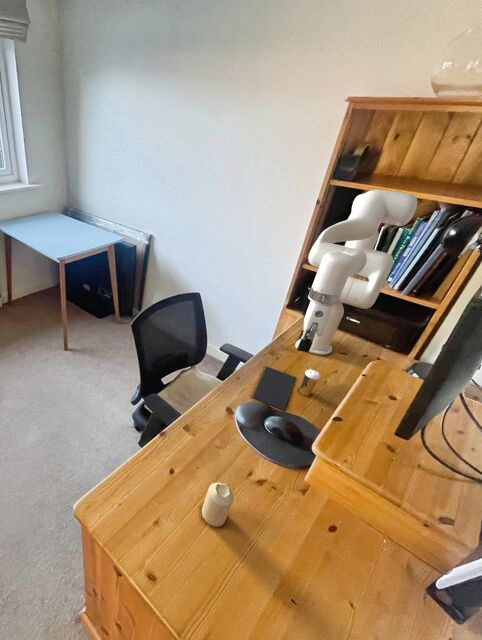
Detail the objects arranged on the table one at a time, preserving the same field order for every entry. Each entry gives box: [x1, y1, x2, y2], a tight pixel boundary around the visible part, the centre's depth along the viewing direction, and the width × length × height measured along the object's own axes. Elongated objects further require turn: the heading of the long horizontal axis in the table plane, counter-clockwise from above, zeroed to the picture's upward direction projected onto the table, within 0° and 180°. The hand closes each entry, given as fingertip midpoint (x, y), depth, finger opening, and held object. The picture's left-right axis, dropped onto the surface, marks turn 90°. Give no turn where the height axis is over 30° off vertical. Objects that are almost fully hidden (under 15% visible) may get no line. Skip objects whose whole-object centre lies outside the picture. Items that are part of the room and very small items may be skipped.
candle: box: [201, 482, 235, 528], centre depth 79 cm, size 6×6×10 cm
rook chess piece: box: [294, 330, 310, 353], centre depth 108 cm, size 4×4×8 cm
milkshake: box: [299, 363, 322, 397], centre depth 117 cm, size 4×5×10 cm
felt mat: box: [252, 366, 296, 412], centre depth 120 cm, size 20×10×1 cm, turn 146°
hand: (303, 346), depth 109 cm, fingers closed on rook chess piece, 4 cm apart
